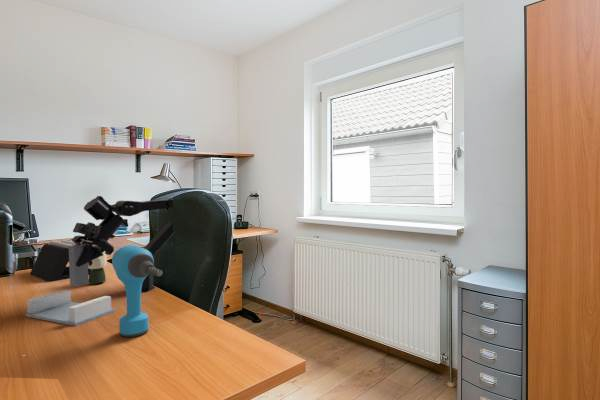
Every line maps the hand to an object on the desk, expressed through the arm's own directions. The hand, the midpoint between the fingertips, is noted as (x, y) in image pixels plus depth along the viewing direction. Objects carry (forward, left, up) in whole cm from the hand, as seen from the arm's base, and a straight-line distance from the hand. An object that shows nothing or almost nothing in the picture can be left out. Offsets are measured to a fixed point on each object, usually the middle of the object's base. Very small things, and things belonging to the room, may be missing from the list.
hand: (74, 265), depth 116 cm
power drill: (-35, +23, -14) cm, 44 cm away
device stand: (+37, -45, -14) cm, 60 cm away
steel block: (-1, -1, -7) cm, 7 cm away
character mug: (+11, -29, -14) cm, 34 cm away
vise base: (-4, +7, -14) cm, 16 cm away
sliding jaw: (+6, +4, -13) cm, 15 cm away
